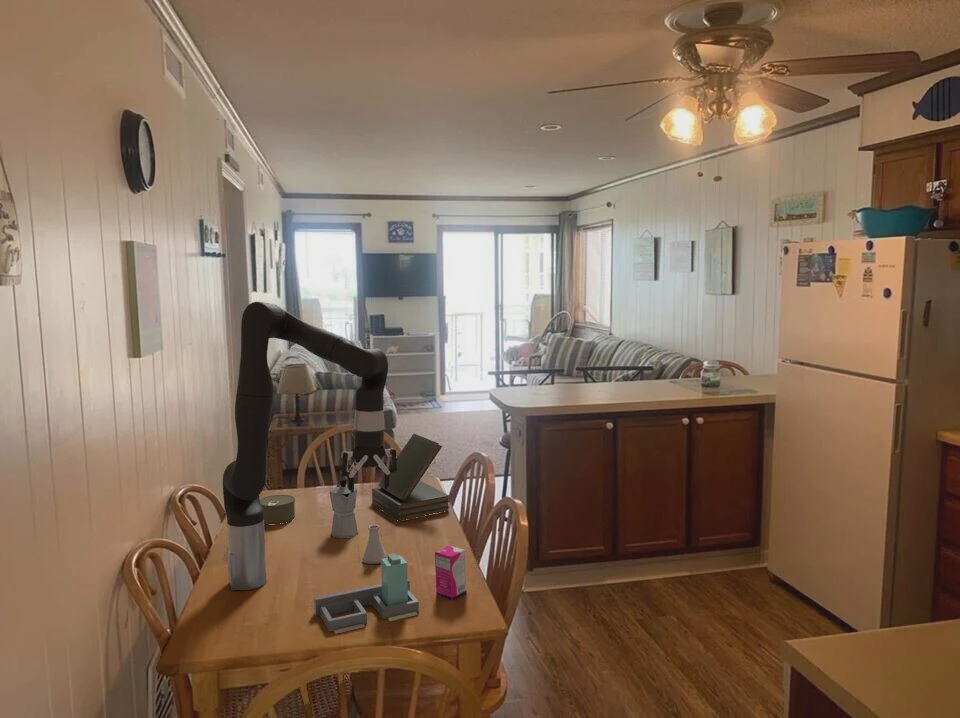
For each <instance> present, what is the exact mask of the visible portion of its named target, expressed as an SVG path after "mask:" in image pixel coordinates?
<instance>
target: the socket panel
mask: <svg viewBox="0 0 960 718" xmlns="http://www.w3.org/2000/svg"><path fill="white" fill-rule="evenodd" d="M410 586H411V584H410V579H408V602H405V603H400V604H396V605H391V606H387V607H386V606H385V605H384V604H383V602H382V583H378V584H373V585H370V586H364V587H358V588H355V589H353V588H352V589H351V590H350V589H349V590H343V591H340V592H335V593H329V594H326V595H325V594H324V595H320V596H316V597H313V603H314V604H313V607H314V611H313V612H314V613H313V614H314V615H315V616H316V617H318V616H320V618H321V620H322V622H323V624H324V625H325V628H326V629H327V630H328V632H329V633H330V632H333V633H334V635H336V634H337V635H338V634H340V633H341V634H342V633H345V632H349V631H355V630H358V629H363V628H366V625H365V624H368V612H367V611H366V610H365V608H364V606H369V605H372V606H373V608H375V610H376V611H377V612H378V614H379V615H380V617H381V618H382V620H388V621H389V622H392V621H393V622H394V621H397V620H402V619H407V618H409V617H414V616H418V612H420V605H419V603H420V601H419V600H418V598H416V597H415V595H414V594H413V593H412V592H411V589H410V588H411V587H410ZM363 605H364V606H363ZM349 611H350V612H351V611H354V613H351V614H346V615H342V616H341V615H340V616H338V617H334V618H333V617H332V615H336V614H341V613H345V612H349Z"/></svg>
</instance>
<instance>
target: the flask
mask: <svg viewBox="0 0 960 718" xmlns="http://www.w3.org/2000/svg"><path fill="white" fill-rule="evenodd" d="M379 529H380V525H378V524H371V525H369V526H368V532H369V534H368V540H367V544H366V548H365V550H364V552H363V556H362V561H361V562H362V563H365V564H369V565H377V564H378V565H379V564H381V559H384V558H388V555H387V553H386V552H385V548H384V547H383V544H382V541H381V538H380V534H379V533H380V532H379Z"/></svg>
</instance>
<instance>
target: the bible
mask: <svg viewBox="0 0 960 718" xmlns="http://www.w3.org/2000/svg"><path fill="white" fill-rule="evenodd" d="M442 447H443V445H441V444H439V443H438V442H436V441H435V440H434V441H433V440H432V439H428V438H427V437H424V436H421V435H419V434H416V433H413V434H412V435H411V437H410V438H409V439H408V441H407V442H406V444H405V445H404V447H403V448H402V450H401V451H400V453H399V454H398V455H397V456H396V460H397V471H396V472H392V473H391V474H390V475H389V487H387V489H383V488H382V479H381V480H380V482H379V484H378V486H377V487H372V488H371V504H372V505H373V506H374V505H375V507H376V506H377V507H378V508H377V507H376V508H377V509H379V508H380V509H381V510H380V509H379V510H380V511H382V510H383V511H384V512H383V511H382V512H383V513H385V514H386V513H387V516H389V515H390V516H389V517H391V516H392V517H393V518H392V517H391V518H392V519H394V520H395V519H396V520H395V521H397V520H398V521H400V522H403V521H402V520H405V521H407V520H406V519H410V520H413V519H412V518H415V519H417V518H416V517H420V518H422V517H421V516H425V515H429V514H433V513H439V512H444V511H448V512H449V509H450V505H449V503H450V500H449V497H450V494H447V493H446V492H444V491H441V490H440V489H437V488H436V487H434V486H432V485H430V484H428V483H426V482H424V481H422V477H423V476H424V474H425V473H426V472H427V470H428V469H429V467H430V465H432V463H433V461H434V460H435V458H436V457H437V455H438V453H439V452H440V451H441V449H442ZM444 513H445V512H444ZM425 517H426V516H425ZM398 521H397V522H398Z"/></svg>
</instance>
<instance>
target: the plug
mask: <svg viewBox="0 0 960 718" xmlns="http://www.w3.org/2000/svg"><path fill="white" fill-rule="evenodd" d="M380 565H381V567H380V568H381V570H380V571H381V572H380V573H381V584H382V602H383V604H384V605H385V606H386V607H387V606H391V605H396V604H400V603H405V602H408V580H409V578H408V577H409V575H408V561H406V560H405V558H404V557H403V556H402V555H398V554H397V553H396V552H395V553H390V554H387V558H384V559H381V563H380Z"/></svg>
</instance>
